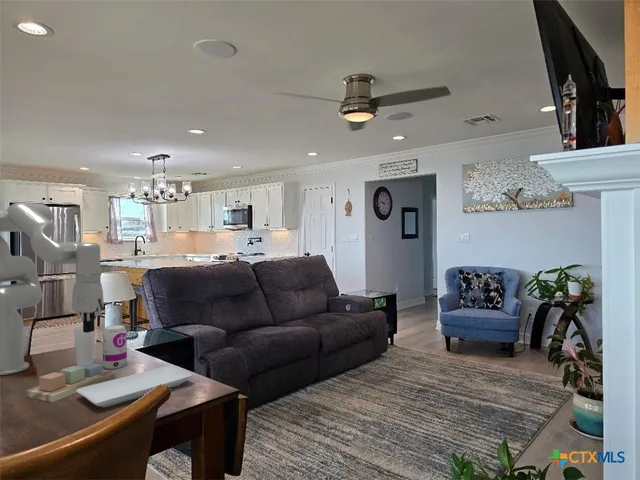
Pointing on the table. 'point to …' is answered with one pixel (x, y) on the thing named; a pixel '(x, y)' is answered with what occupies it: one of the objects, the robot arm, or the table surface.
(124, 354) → the supplement can
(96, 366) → the key slate
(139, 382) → the tray
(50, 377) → the key terracotta
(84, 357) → the drinking glass
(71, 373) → the key sage
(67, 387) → the keypad base
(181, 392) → the table surface
